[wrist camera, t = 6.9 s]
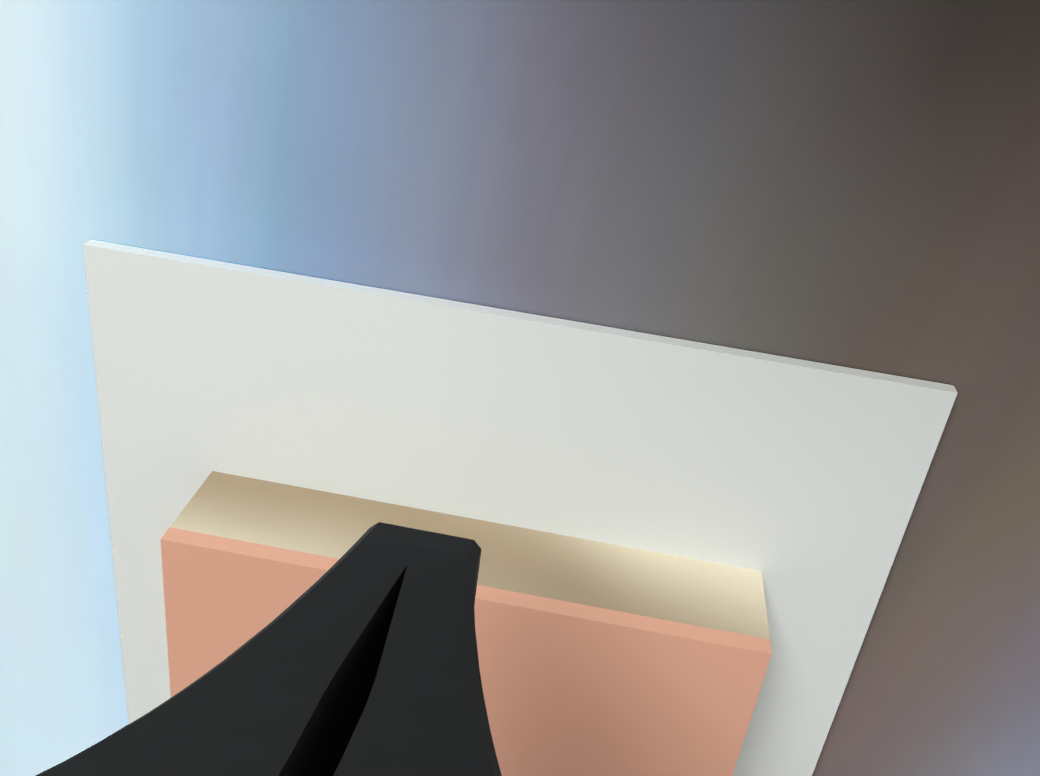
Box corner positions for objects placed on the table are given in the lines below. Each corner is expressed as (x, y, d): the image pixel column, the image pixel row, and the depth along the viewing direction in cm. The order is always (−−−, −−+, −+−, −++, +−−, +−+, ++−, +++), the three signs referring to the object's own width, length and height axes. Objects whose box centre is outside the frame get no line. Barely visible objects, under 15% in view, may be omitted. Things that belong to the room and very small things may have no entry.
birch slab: (160, 538, 20) (178, 811, 23) (772, 653, 19) (686, 916, 23) (211, 471, 22) (220, 729, 26) (761, 571, 21) (685, 822, 25)
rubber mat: (953, 385, 19) (957, 392, 19) (764, 887, 26) (765, 897, 26) (91, 239, 20) (83, 244, 20) (138, 760, 27) (133, 768, 27)
